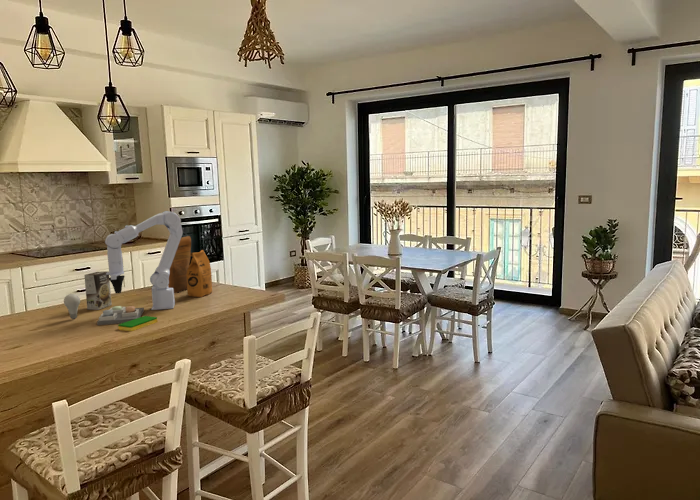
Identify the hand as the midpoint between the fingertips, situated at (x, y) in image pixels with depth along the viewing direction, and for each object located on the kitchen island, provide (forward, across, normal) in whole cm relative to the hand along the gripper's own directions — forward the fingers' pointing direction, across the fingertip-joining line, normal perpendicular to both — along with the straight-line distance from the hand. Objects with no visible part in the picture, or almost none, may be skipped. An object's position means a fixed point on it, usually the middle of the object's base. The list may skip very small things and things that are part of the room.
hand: (118, 292), depth 220 cm
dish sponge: (+10, +22, +10) cm, 26 cm away
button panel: (+9, +7, +2) cm, 12 cm away
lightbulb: (+10, +3, -18) cm, 20 cm away
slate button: (+7, +13, -2) cm, 14 cm away
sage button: (+7, +3, -1) cm, 8 cm away
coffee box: (+10, -16, -11) cm, 22 cm away
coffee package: (+10, -27, +33) cm, 44 cm away
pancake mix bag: (+10, -40, +23) cm, 47 cm away
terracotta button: (+6, +9, +6) cm, 13 cm away
